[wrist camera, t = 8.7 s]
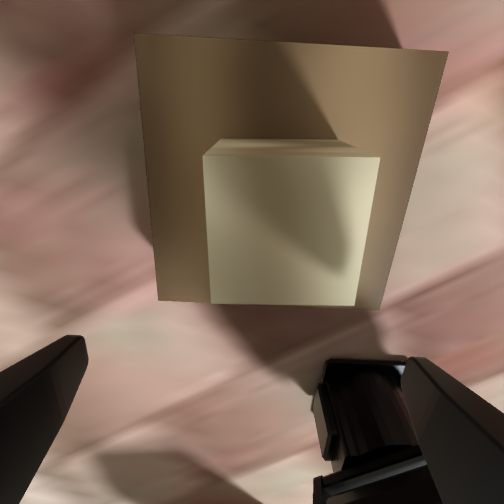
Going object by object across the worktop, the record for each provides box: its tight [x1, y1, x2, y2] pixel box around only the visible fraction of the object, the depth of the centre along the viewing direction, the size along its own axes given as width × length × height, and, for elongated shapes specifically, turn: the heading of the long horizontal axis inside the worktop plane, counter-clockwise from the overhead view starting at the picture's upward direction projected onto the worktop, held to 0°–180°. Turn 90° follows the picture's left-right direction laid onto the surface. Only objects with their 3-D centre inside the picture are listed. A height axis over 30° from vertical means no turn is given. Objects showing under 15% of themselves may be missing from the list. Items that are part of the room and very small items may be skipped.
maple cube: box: [202, 139, 380, 306], centre depth 12 cm, size 5×5×5 cm
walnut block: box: [134, 33, 449, 310], centre depth 16 cm, size 12×12×4 cm
